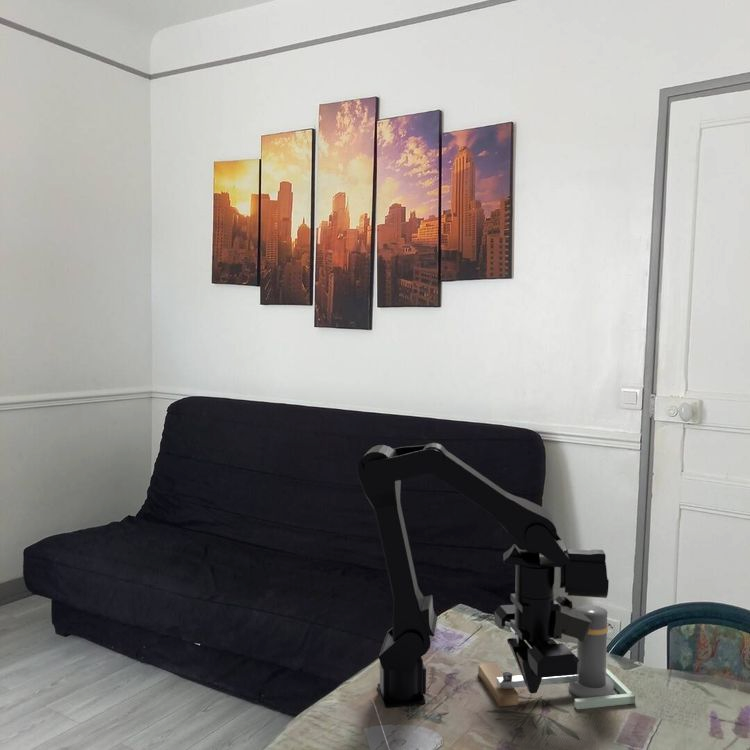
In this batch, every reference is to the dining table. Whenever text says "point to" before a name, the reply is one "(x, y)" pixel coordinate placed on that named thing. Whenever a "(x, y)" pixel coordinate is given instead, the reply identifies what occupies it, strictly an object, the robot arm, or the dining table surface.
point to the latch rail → (500, 695)
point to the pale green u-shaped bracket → (610, 700)
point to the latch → (518, 681)
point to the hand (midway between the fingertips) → (532, 692)
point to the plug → (593, 657)
